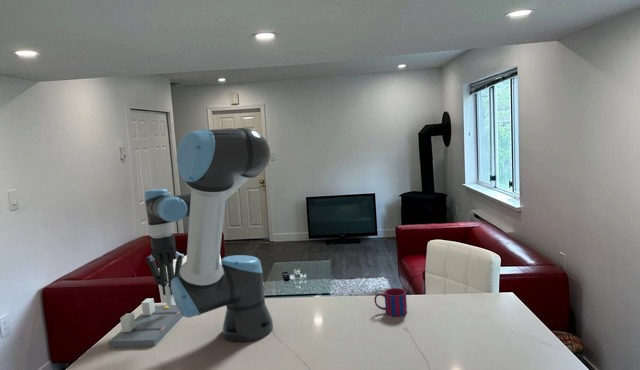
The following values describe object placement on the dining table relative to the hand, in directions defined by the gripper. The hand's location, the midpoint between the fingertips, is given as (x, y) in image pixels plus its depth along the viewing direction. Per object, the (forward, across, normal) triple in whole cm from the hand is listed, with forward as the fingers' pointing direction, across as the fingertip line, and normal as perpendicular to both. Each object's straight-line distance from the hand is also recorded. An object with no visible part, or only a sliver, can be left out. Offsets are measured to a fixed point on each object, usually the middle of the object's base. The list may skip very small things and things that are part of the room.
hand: (170, 303), depth 142 cm
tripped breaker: (+3, +8, 0) cm, 9 cm away
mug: (+7, -73, +2) cm, 74 cm away
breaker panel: (+5, +4, +6) cm, 9 cm away
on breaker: (+3, +9, +12) cm, 15 cm away
